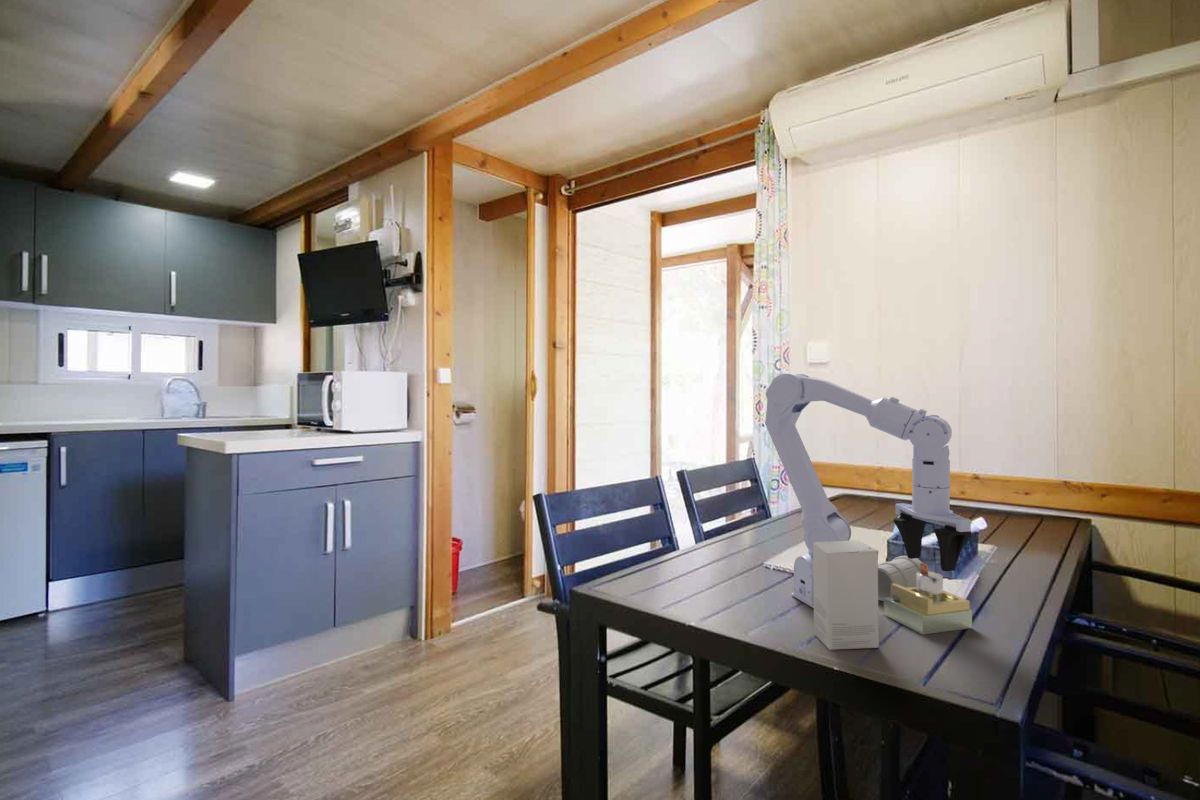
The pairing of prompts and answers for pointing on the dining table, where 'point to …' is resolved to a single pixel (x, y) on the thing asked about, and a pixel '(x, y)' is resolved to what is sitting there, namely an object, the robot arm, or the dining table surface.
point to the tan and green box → (927, 611)
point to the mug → (897, 574)
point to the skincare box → (846, 594)
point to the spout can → (929, 584)
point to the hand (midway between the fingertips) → (930, 564)
